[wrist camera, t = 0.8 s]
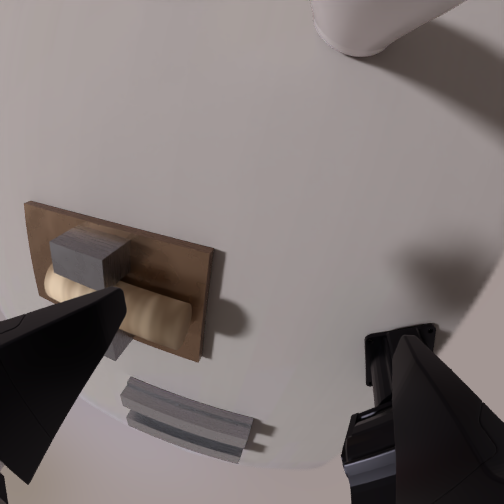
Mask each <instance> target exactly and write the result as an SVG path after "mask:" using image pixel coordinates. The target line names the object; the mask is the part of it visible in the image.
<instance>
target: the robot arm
mask: <svg viewBox="0 0 504 504" xmlns="http://www.w3.org/2000/svg"><path fill="white" fill-rule="evenodd" d="M126 313H127V307H126V302H125V296H124V292H123V290H122V289H121V288H118V287H114V286H110V287H107V288H104V289H101V290H98V291H95V292H92V293H88V294H85V295H82V296H79V297H76V298H73V299H70V300H67V301H63V302H60V303H57V304H54V305H51V306H48V307H45V308H42V309H39V310H36V311H33V312H30V313H27V314H23V315H20V316H17V317H14V318H11V319H8V320H4V321H0V471H1V469H2V468H3V467H4V465H6V466H7V467H8V468H9V469H10V470H11V471H12V472H13V473H14V474H16V475H17V476H18V477H19V478H20V479H21V480H23V481H24V482H25V483H26V484H27V485H29V483H30V482H31V480H32V478H33V476H34V474H35V472H36V470H37V468H38V466H39V465H40V463H41V461H42V459H43V457H44V455H45V453H46V451H47V450H48V448H49V446H50V444H51V442H52V439H53V438H54V437H55V435H56V433H57V431H58V430H59V427H60V426H61V424H62V423H63V421H64V419H65V417H66V416H67V414H68V412H69V411H70V409H71V407H72V406H73V404H74V402H75V401H76V399H77V397H78V396H79V394H80V392H81V391H82V389H83V388H84V386H85V384H86V383H87V381H88V380H89V378H90V376H91V375H92V373H93V372H94V370H95V369H96V367H97V365H98V364H99V362H100V361H101V359H102V358H103V356H104V355H105V353H106V351H107V350H108V348H109V346H110V344H111V343H112V341H113V339H114V337H115V335H116V333H117V331H118V329H119V327H120V325H121V323H122V322H123V320H124V318H125V316H126ZM429 329H431V330H429ZM435 333H436V328H435V326H434V324H426V325H421V326H416V327H411V328H406V329H400V330H394V331H389V332H383V333H376V334H370V335H367V336H366V337H365V363H366V385H367V386H373V393H374V404H375V407H374V408H372V409H369V410H367V411H364V412H362V413H356V414H353V415H352V416H351V420H350V424H349V427H348V431H347V435H346V438H345V442H344V446H343V450H342V454H341V459H342V462H343V467H344V470H345V473H346V475H347V477H348V479H349V483H350V489H351V504H504V422H502V421H501V420H500V419H499V418H498V417H497V416H496V415H495V414H494V413H493V412H492V411H491V410H490V409H489V407H488V406H487V405H485V403H482V400H481V399H480V398H479V397H478V396H477V395H476V394H475V393H474V392H473V391H472V390H471V389H470V388H469V387H468V386H467V385H466V384H465V383H464V382H463V381H462V380H461V379H460V378H459V377H458V376H457V375H456V374H455V373H454V372H453V371H452V369H450V368H449V367H448V366H447V365H446V364H445V363H443V361H441V360H440V359H439V358H438V357H437V356H436V355H435V354H434V353H433V347H434V340H435ZM369 340H372V341H369ZM0 504H8V500H7V493H6V487H5V479H4V476H3V475H2V474H1V473H0Z"/></svg>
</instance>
